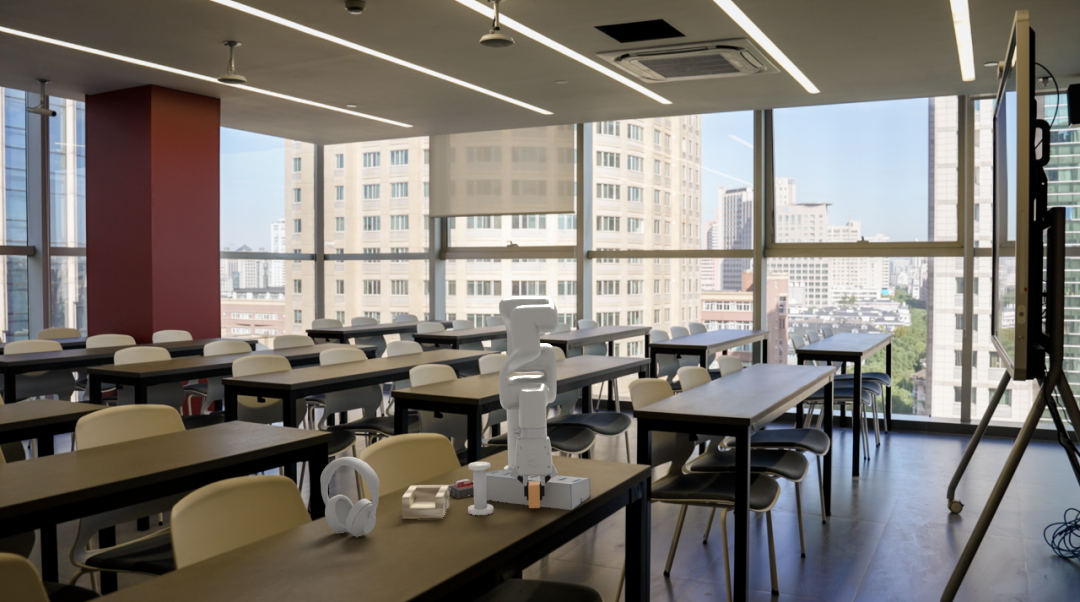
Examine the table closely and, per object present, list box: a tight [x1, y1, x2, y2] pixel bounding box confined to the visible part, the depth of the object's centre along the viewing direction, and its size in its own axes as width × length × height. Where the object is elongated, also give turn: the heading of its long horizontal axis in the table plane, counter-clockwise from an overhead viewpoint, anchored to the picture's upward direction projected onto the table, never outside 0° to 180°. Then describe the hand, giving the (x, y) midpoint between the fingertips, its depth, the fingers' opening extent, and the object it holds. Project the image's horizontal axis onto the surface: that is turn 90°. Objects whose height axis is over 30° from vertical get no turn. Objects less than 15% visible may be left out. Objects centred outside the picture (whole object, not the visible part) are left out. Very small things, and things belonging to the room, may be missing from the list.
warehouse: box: [486, 469, 592, 511], centre depth 227 cm, size 30×14×8 cm, turn 65°
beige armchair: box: [401, 484, 451, 519], centre depth 215 cm, size 12×11×6 cm
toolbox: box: [448, 478, 474, 499], centre depth 233 cm, size 9×4×20 cm
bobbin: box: [467, 461, 494, 517], centre depth 214 cm, size 7×7×13 cm
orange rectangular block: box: [528, 481, 541, 509], centre depth 214 cm, size 5×3×6 cm, turn 178°
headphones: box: [319, 456, 380, 537], centre depth 197 cm, size 18×8×20 cm, turn 60°
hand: (534, 498), depth 214 cm, fingers closed on orange rectangular block, 2 cm apart
